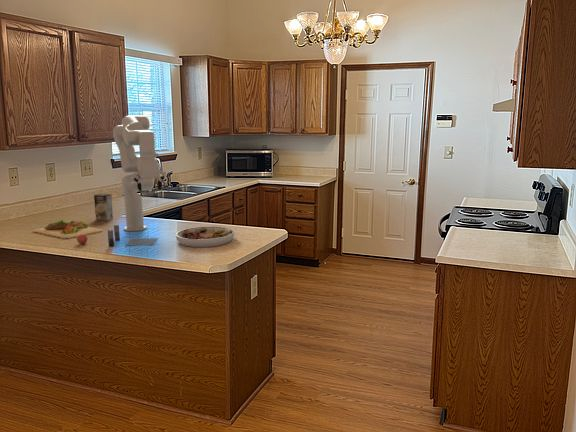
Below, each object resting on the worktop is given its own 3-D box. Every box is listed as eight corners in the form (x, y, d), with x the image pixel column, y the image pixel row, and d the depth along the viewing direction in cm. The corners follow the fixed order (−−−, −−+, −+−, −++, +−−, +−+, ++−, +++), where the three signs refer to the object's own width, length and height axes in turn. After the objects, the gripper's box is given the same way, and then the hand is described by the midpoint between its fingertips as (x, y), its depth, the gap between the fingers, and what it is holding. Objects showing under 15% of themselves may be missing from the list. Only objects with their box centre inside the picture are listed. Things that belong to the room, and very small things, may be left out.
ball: (79, 242, 258) (78, 233, 257) (89, 242, 258) (88, 233, 257) (76, 245, 253) (75, 235, 252) (86, 244, 253) (85, 235, 252)
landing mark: (131, 239, 264) (131, 238, 264) (157, 238, 266) (157, 238, 265) (125, 245, 251) (125, 245, 251) (153, 245, 252) (153, 244, 252)
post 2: (115, 239, 264) (114, 224, 262) (120, 239, 264) (119, 224, 263) (114, 240, 261) (113, 225, 260) (119, 240, 262) (118, 225, 260)
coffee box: (95, 220, 316) (93, 195, 312) (101, 218, 322) (99, 193, 319) (107, 220, 313) (105, 195, 310) (113, 218, 319) (111, 194, 316)
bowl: (196, 233, 278) (195, 219, 277) (244, 237, 267) (243, 223, 266) (164, 246, 251) (163, 231, 249) (216, 251, 240) (216, 235, 238)
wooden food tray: (104, 232, 284) (103, 219, 283) (66, 241, 265) (65, 227, 264) (69, 225, 304) (67, 213, 302) (31, 233, 285) (30, 220, 283)
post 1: (109, 245, 252) (108, 229, 251) (114, 245, 252) (113, 229, 251) (108, 246, 250) (106, 231, 248) (113, 246, 250) (112, 230, 248)
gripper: (162, 154, 255) (164, 187, 259) (128, 156, 247) (130, 190, 250) (166, 155, 249) (168, 189, 252) (131, 157, 240) (134, 192, 244)
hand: (149, 190), depth 251 cm, fingers open, 9 cm apart
